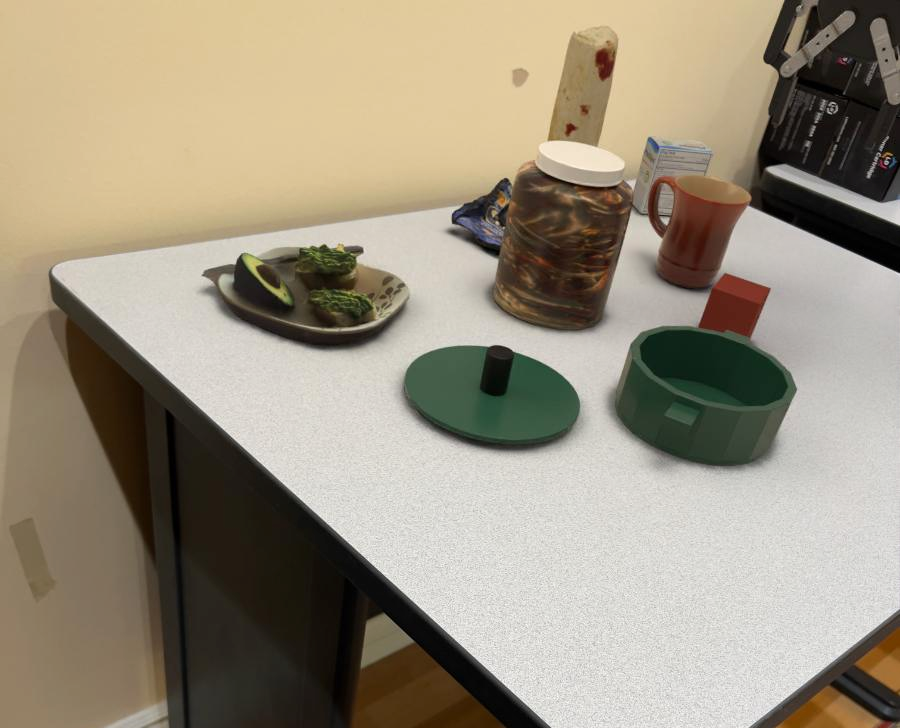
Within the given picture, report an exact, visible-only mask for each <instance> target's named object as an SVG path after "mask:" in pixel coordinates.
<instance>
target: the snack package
mask: <svg viewBox="0 0 900 728" xmlns="http://www.w3.org/2000/svg"><path fill="white" fill-rule="evenodd" d="M493 187H494V188H492V190H491V191H490V192H489V193H488V194H486V195H480V197H478V198H476V199H474V200H473V201H469V202H465V203H463V204H462V205H461V206H460V207H459V208H457V209H455V210H454V211H453V212H452V213H451V225H454V226H456V227H457V228H458V226H460V227H461V228H465V229H467V230H468V231H470V232H472V233H473V234H474V237H475V239H476V241H474V243H477V245H479V246H483V248H487V249H490V250H495V251H498V252H500V250H501V244H502V239H503V234H504V228H505V223H506V218H507V213H508V208H509V203H510V198H511V194H512V189H513V184H512V183H511V180H510V179H509V178H508V177H504V178H502V179H500V180H499V181H498V183H497V184H496V185H495V186H493ZM452 231H453V232H455V230H454V229H453V230H452Z"/></svg>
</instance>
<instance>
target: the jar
mask: <svg viewBox="0 0 900 728" xmlns="http://www.w3.org/2000/svg"><path fill="white" fill-rule="evenodd" d="M625 168H626V162H625V161H624V160H623V159H622V158H621V157H620V156H618V155H617V154H615V153H613V152H611V151H609V150H606V149H604V148H601V147H598V146H597V147H595V146H591V145H587V144H583V143H577V142H571V141H548V142H547V141H544V142H542V143H540V144H539V145H538V148H537V153H536V158H535V159H533V160H530V161H526V162H523V163H522V164H521V165H520V166H519V167H518V169H517V171H516V174H515V177H514V181H513V184H512V186H513V189H512V194H511V198H510V203H509V208H508V213H507V218H506V223H505V228H504V234H503V239H502V244H501V250H500V251H499V255H498V260H497V267H496V271H495V277H494V283H493V289H492V296H493V299H494V301H495V303H496V304H497V305H498V306H499V307H500V308H501V309H502V310H504V311H505V312H507V313H508V314H510V315H512V316H513V317H516V318H517V319H520V320H522V321H525V322H528V323H530V324H534V325H537V326H541V327H546V328H551V329H559V330H582V329H586V328H591V327H593V326H595V325H597V324H598V323H599V322H601V320H602V318H603V316H604V313H605V309H606V305H607V303H608V299H609V296H610V292H611V288H612V284H613V281H614V278H615V275H616V271H617V268H618V267H617V266H618V263H619V260H620V255H621V253H622V250H623V245H624V241H625V238H626V233H627V229H628V227H629V222H630V218H631V214H632V210H633V206H634V205H633V199H634V193H633V190H634V188H632V186H631V185H630V184H629V183H628V182H627V181H625V180H624V179H623V176H624V172H625Z"/></svg>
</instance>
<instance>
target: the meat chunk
mask: <svg viewBox="0 0 900 728" xmlns="http://www.w3.org/2000/svg"><path fill="white" fill-rule="evenodd" d="M771 289H772V288H771V287H768V286H765V285H763V284H760V283H756V282H753V281H751V280H748V279H745V278H742V277H739V276H736V275H733V274H730V273H728V272H724V273H723V274H722V276H721V277H720V278H719V279H718V281H717V282H715V284H714V285H713V286H712V288H711V290H710V293H709V296H708V299H707V301H706V304H705V307H704V309H703V313H702V315H701V318H700V320H699V324H698V327H697V328H702V329H708V330H713V331H718V332H722V333H724V332H725V330H729V331H732V332H735V333H737V334H740V335H743V336H746V337H749V338H750V339H749V342H750V341H751V339H752V336H753V334H754V331H755V329H756V326H757V324H758V321H759V320H760V317H761V314H762V312H763V309H764V307H765V305H766V302H767V300H768V298H769V295H770V293H771Z"/></svg>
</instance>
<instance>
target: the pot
mask: <svg viewBox="0 0 900 728" xmlns="http://www.w3.org/2000/svg"><path fill="white" fill-rule="evenodd" d="M749 339H750V338H749V337H746V336H743V335H740V334H737V333H735V332H732V331H729V330H725V332H724V333H722V332H718V331H713V330H708V329H702V328H698V327H697V326H691V325H662V326H661V325H660V326H658V327H654V328H650V329H646V330H644V331H641V332H639V334H638V335H637V336H636V337H635V338H634V339H633V340H632V341H631V343H630V345H629V348H628V351H627V354H626V358H625V360H624V364H623V367H622V370H621V373H620V377H619V380H618V382H617V387H616V390H615V398H614V408H615V411H616V414H617V416H618V417H619V419H620V421H621V422H622V424H623V425H624V426H625V427H626V428H627V429H628V430H629V431H630V432H631V433H633V434H634V435H635V436H636V437H638V438H639V439H640V440H642V441H643V442H645V443H646V444H648V445H650V446H652V447H653V448H655V449H656V450H658V451H661V452H664V453H666V454H669V455H671V456H672V457H676V458H679V459H683V460H686V461H690V462H693V463H698V464H704V465H711V466H721V467H723V466H725V467H726V466H727V467H729V466H741V465H745V464H750V463H753V462H755V461H757V460H759V459H761V458H763V457H764V456H766V454H767V453H768V452H769V450H770V449H771V446H772V445H773V443H774V441H775V439H776V436H777V435H778V432H779V430H780V428H781V425H782V423H783V421H784V419H785V417H786V415H787V413H788V410H789V408H790V406H791V404H792V402H793V399H795V396H796V394H797V391H798V388H797V385H796V382H795V380H794V377H793V375H792V372H791V371H790V370H789V369H787V367H785V365H783V364H782V363H781V362H780V361H779V360H778V359H777V358H776V357H775V356H774V355H772V354H770V353H769V352H767V351H765V350H763V349H761V348H760V347H759V346H757V345H754V344H752V343H751V342H750V341H749ZM750 340H751V339H750Z"/></svg>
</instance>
